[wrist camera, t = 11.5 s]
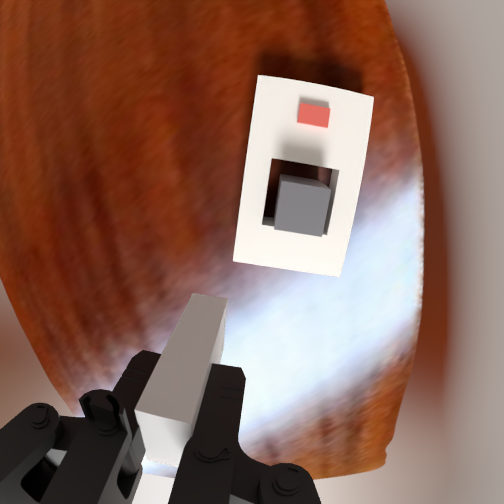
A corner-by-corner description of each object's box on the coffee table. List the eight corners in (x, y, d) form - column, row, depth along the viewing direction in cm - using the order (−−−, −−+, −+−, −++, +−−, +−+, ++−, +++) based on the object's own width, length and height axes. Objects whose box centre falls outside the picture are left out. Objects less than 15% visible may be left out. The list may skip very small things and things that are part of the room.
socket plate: (260, 82, 31) (257, 73, 26) (363, 102, 30) (376, 96, 26) (237, 249, 37) (232, 263, 33) (333, 263, 37) (341, 280, 33)
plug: (280, 173, 34) (281, 180, 26) (318, 180, 34) (331, 189, 26) (274, 211, 36) (273, 229, 28) (312, 217, 35) (321, 237, 28)
